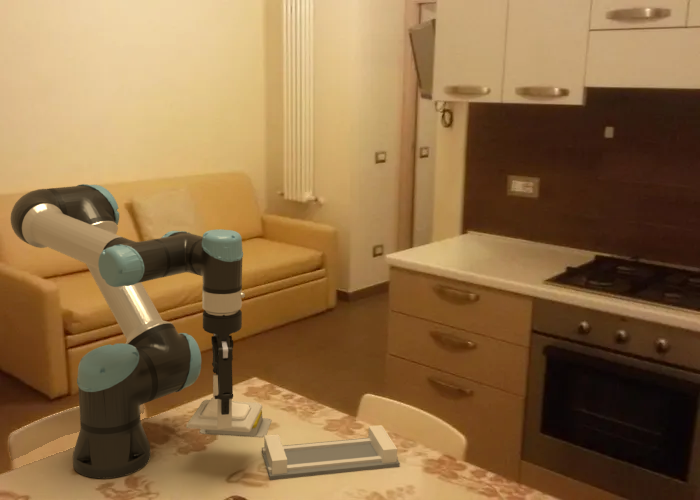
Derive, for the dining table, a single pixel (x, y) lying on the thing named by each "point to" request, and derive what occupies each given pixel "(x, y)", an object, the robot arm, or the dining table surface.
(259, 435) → the emergency button
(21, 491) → the dining table surface
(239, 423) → the light switch
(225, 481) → the dining table surface
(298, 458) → the rail board
